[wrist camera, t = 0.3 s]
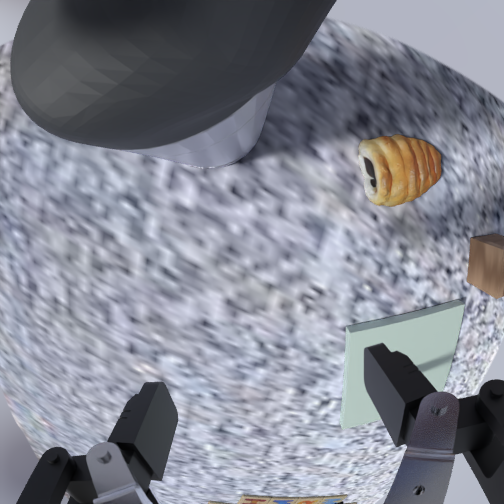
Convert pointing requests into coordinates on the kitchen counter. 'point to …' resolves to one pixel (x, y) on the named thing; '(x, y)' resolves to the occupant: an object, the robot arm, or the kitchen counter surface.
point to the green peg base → (405, 341)
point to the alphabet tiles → (288, 500)
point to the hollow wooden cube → (487, 264)
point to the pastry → (398, 168)
